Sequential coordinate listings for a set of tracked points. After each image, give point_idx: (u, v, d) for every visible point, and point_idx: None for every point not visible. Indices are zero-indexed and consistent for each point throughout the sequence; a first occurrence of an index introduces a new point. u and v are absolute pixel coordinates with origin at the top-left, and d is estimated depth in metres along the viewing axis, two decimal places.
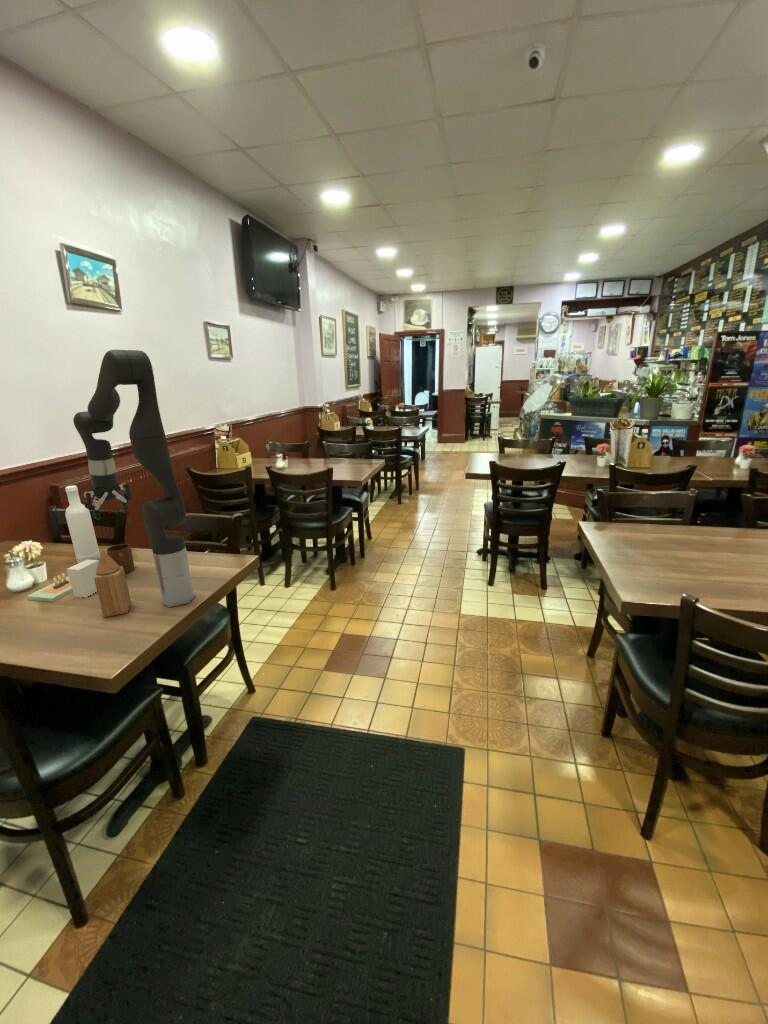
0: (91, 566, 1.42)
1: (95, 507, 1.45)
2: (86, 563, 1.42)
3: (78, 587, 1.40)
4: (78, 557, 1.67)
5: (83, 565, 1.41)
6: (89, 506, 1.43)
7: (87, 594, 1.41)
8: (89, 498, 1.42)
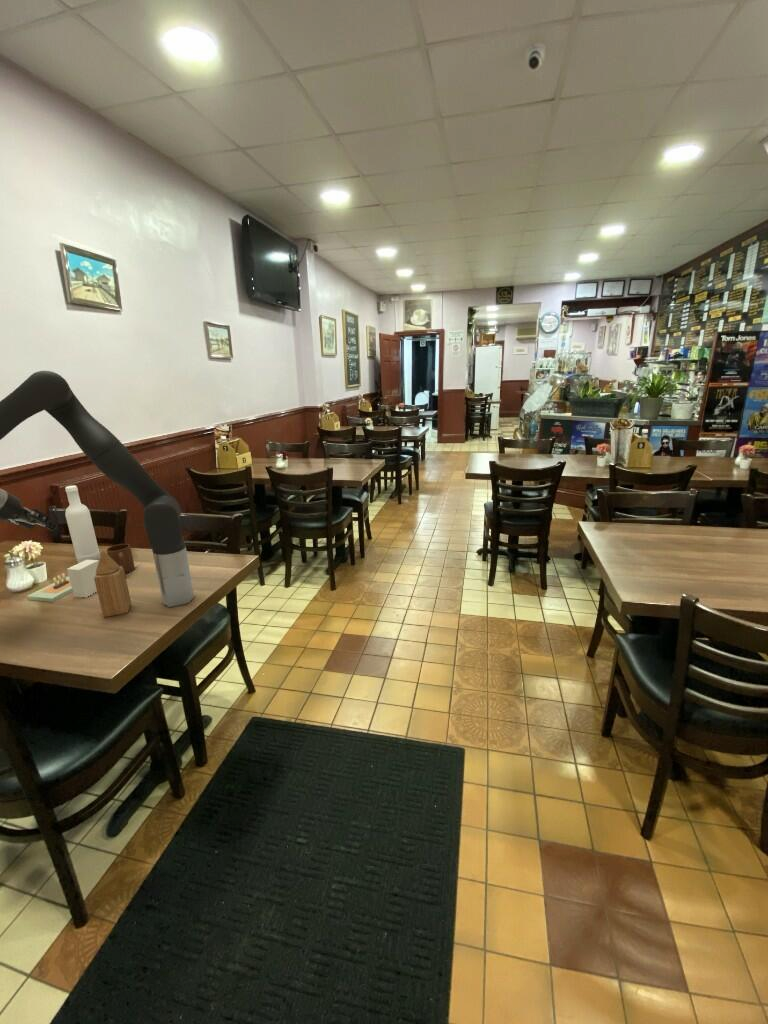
0: (91, 566, 1.42)
1: None
2: (86, 563, 1.42)
3: (78, 587, 1.40)
4: (78, 557, 1.67)
5: (83, 565, 1.41)
6: None
7: (87, 594, 1.41)
8: None
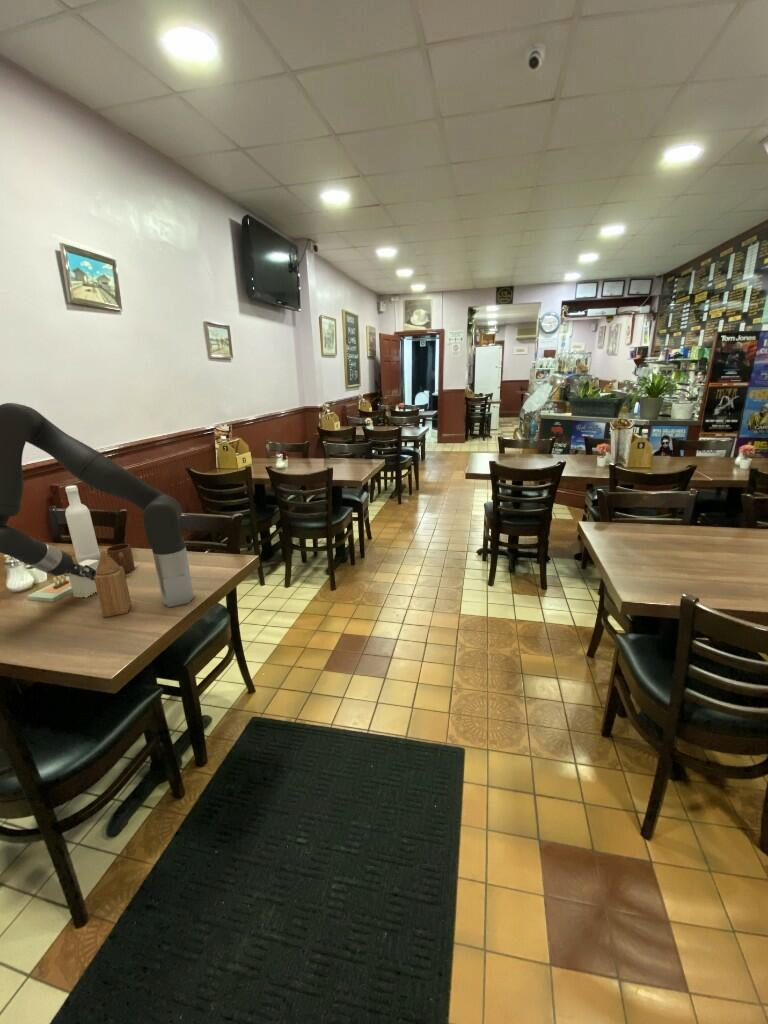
0: (91, 566, 1.42)
1: None
2: (86, 563, 1.42)
3: (78, 587, 1.40)
4: (78, 557, 1.67)
5: (83, 565, 1.41)
6: None
7: (87, 594, 1.41)
8: None
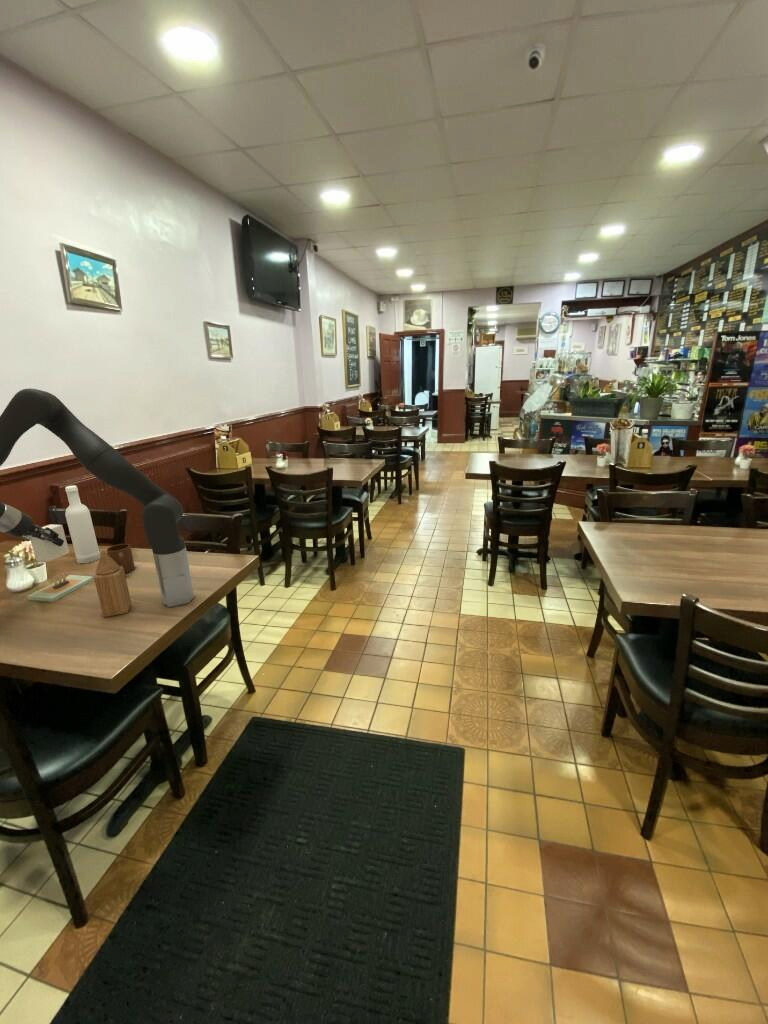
0: (54, 530, 1.41)
1: None
2: (48, 527, 1.41)
3: (40, 551, 1.39)
4: (78, 557, 1.67)
5: None
6: None
7: (49, 558, 1.40)
8: None
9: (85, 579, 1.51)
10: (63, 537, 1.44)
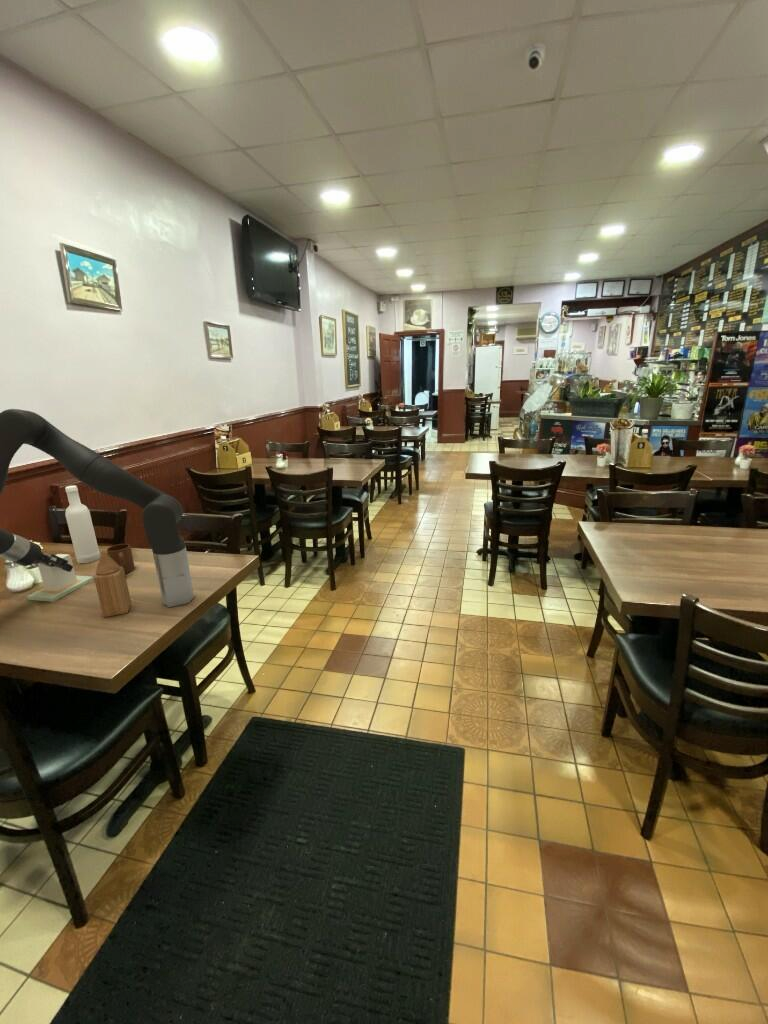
0: None
1: None
2: None
3: (49, 581, 1.42)
4: (78, 557, 1.67)
5: None
6: None
7: (58, 588, 1.43)
8: None
9: (85, 579, 1.51)
10: None
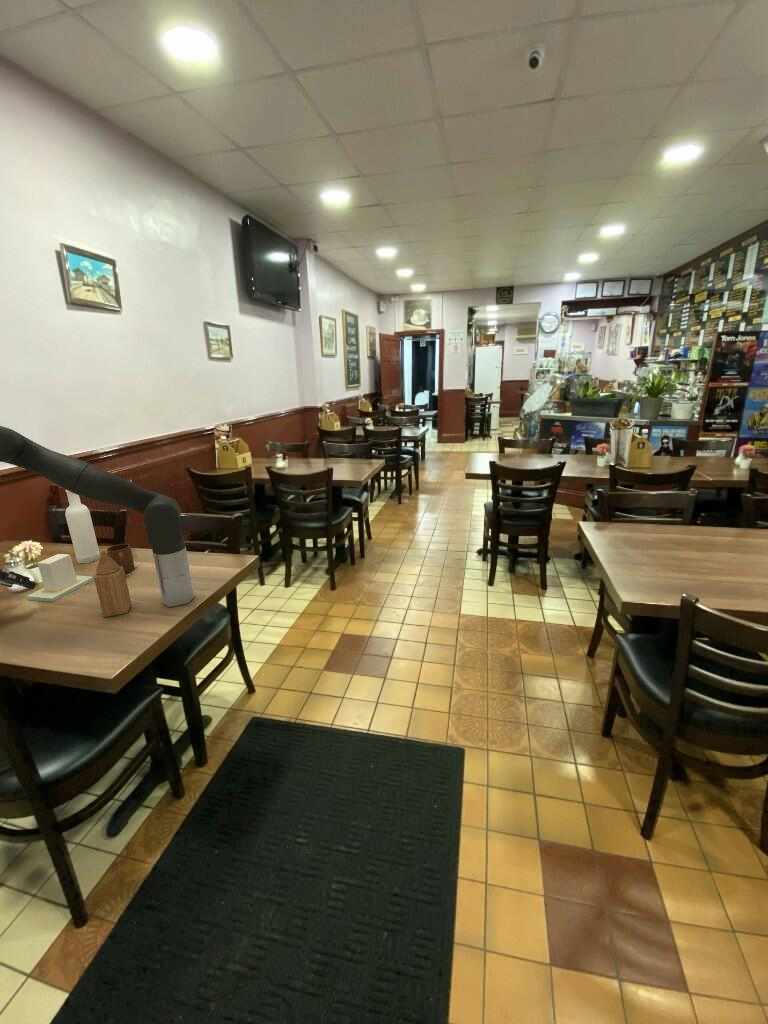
0: (62, 560, 1.44)
1: (23, 577, 1.29)
2: (57, 557, 1.44)
3: (49, 581, 1.42)
4: (78, 557, 1.67)
5: (53, 559, 1.43)
6: None
7: (58, 588, 1.43)
8: (16, 573, 1.26)
9: (85, 579, 1.51)
10: (71, 566, 1.47)
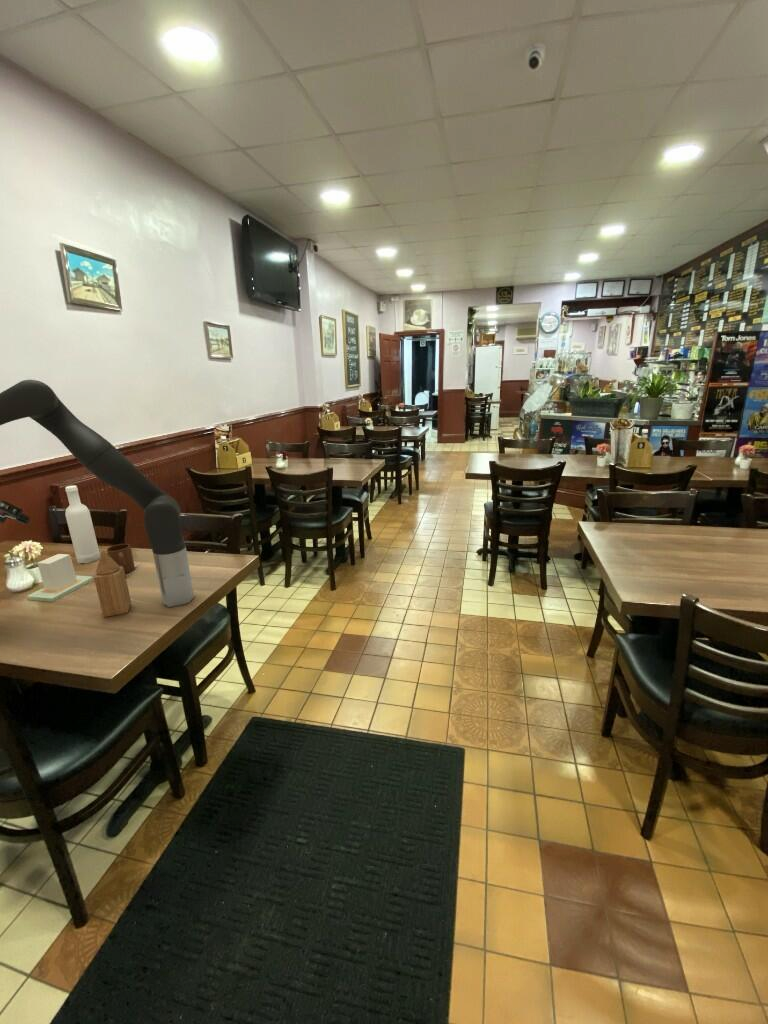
0: (62, 560, 1.44)
1: None
2: (57, 557, 1.44)
3: (49, 581, 1.42)
4: (78, 557, 1.67)
5: (53, 559, 1.43)
6: None
7: (58, 588, 1.43)
8: None
9: (85, 579, 1.51)
10: (71, 566, 1.47)
